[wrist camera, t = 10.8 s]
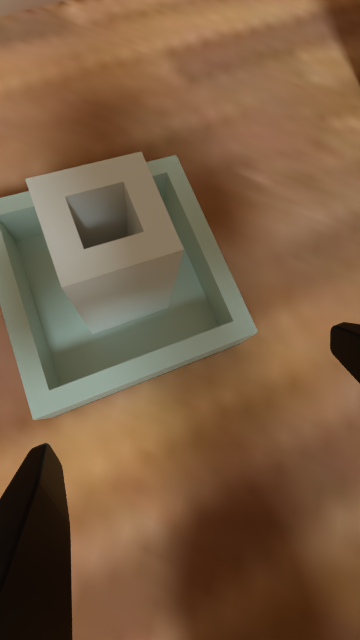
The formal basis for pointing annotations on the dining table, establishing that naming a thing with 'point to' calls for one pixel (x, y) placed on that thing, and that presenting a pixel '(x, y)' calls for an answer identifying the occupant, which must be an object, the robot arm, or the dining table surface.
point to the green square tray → (123, 340)
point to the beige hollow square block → (109, 239)
